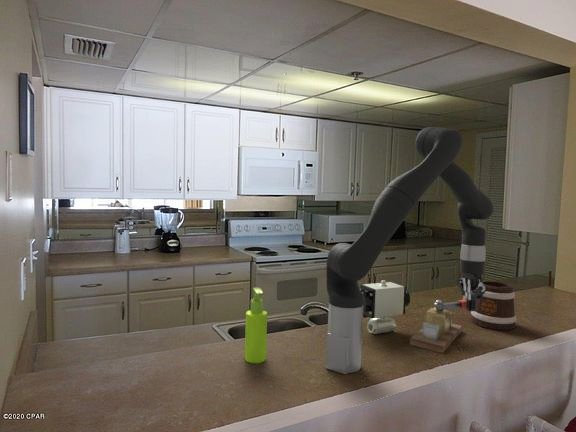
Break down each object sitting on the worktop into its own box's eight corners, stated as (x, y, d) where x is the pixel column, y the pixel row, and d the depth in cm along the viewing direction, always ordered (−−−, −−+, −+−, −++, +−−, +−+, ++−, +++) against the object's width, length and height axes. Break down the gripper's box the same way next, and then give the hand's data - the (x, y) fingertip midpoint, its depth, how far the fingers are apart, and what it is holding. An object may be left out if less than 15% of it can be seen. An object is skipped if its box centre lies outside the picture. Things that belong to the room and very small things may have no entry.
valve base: (442, 353, 120) (443, 346, 120) (409, 344, 126) (410, 338, 126) (461, 331, 140) (461, 325, 140) (432, 324, 146) (432, 319, 146)
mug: (524, 327, 146) (527, 286, 145) (501, 334, 138) (503, 291, 137) (474, 312, 163) (476, 275, 162) (450, 317, 155) (452, 279, 154)
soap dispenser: (247, 365, 108) (249, 292, 107) (243, 355, 115) (244, 285, 113) (268, 363, 109) (270, 291, 108) (263, 353, 116) (265, 285, 115)
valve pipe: (439, 341, 124) (440, 319, 123) (419, 337, 127) (420, 315, 127) (453, 326, 138) (454, 306, 138) (435, 322, 142) (436, 303, 141)
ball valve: (392, 324, 145) (395, 275, 144) (409, 332, 137) (411, 281, 136) (350, 330, 137) (352, 279, 136) (365, 339, 130) (367, 284, 128)
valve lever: (438, 311, 131) (438, 302, 130) (432, 309, 133) (432, 299, 133) (469, 308, 136) (470, 299, 135) (463, 306, 138) (463, 296, 138)
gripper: (496, 261, 127) (494, 316, 127) (470, 255, 139) (468, 304, 140) (475, 261, 125) (473, 317, 126) (450, 255, 138) (448, 305, 139)
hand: (470, 310), depth 133 cm, fingers closed
